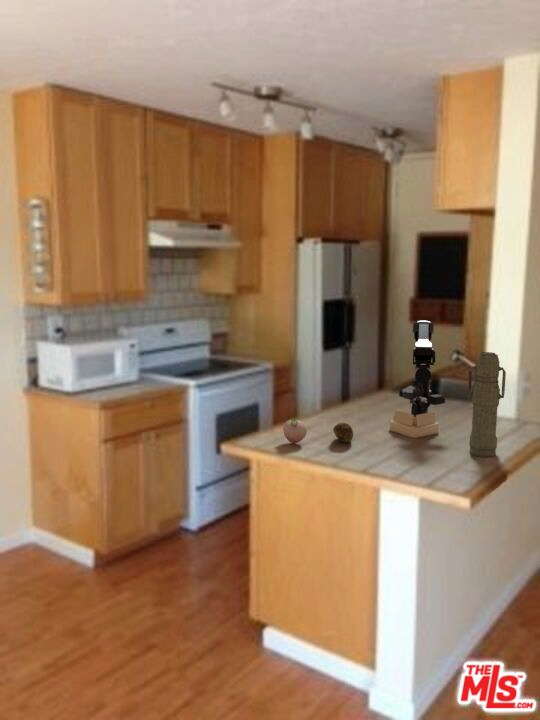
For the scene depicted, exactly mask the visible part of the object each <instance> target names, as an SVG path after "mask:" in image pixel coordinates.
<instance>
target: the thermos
mask: <svg viewBox="0 0 540 720" xmlns="http://www.w3.org/2000/svg"><path fill="white" fill-rule="evenodd" d="M473 370H475V373H474V376H475V379H474V383H473V386H472V380H473V379H472V378H473ZM501 371H502V382H501V389H500V386H499V377H500V372H501ZM506 373H507V372H506V370H505V368H504V367H501V366H500V359H499V355H498V354H496V352H491V351H490V352H488V351H482V352H480V353H478V355H477V358H476V361H475V365H474V366H471V367H470V368H469V369H468V387H467V389H468V390H467V394H468V395H469V397H471V403H472V417H471V418H472V421H471V422H472V423H471V431H470V435H469V445H468V446H469V454H470V455H472V456H474V457H478V456H479V458H493V456H494V457H496V456H497V446H498V438H497V422H498V421H497V419H498V408H499V405H500V400H501V399H504V398H505V394H506V393H505V391H506V376H507V375H506ZM500 390H501V391H500ZM500 392H501V393H500Z"/></svg>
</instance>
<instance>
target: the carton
mask: <svg viewBox="0 0 540 720" xmlns="http://www.w3.org/2000/svg"><path fill="white" fill-rule="evenodd" d="M393 420H394V419H392V420H390V421H389V431H390V432H393V433H396V434H398V435H399V434H400V435H403V436H406V437H408V438H413V439H419V438H422V437H426V436H432V435H436V434H439V429H440V428H439V425H440V423H439V422H437V421H435V422H436V423H432V424H427V425H422V426H417V421H416V417H414V419H413V425H412V426H410V425H407V424H403V423H400V422H396V421H393Z"/></svg>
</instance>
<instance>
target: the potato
mask: <svg viewBox="0 0 540 720" xmlns="http://www.w3.org/2000/svg"><path fill="white" fill-rule="evenodd" d="M332 431H333V433H334V436H335V438H336V439H337V440H338V441H340V442H343V443H350V442H351V441H352V440H353V437H354V431H353V428H352V426H351V424H349V423H347V422H346V423H345V422H339V423H337V424H336V425H335V426H334V427H333V430H332Z"/></svg>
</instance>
